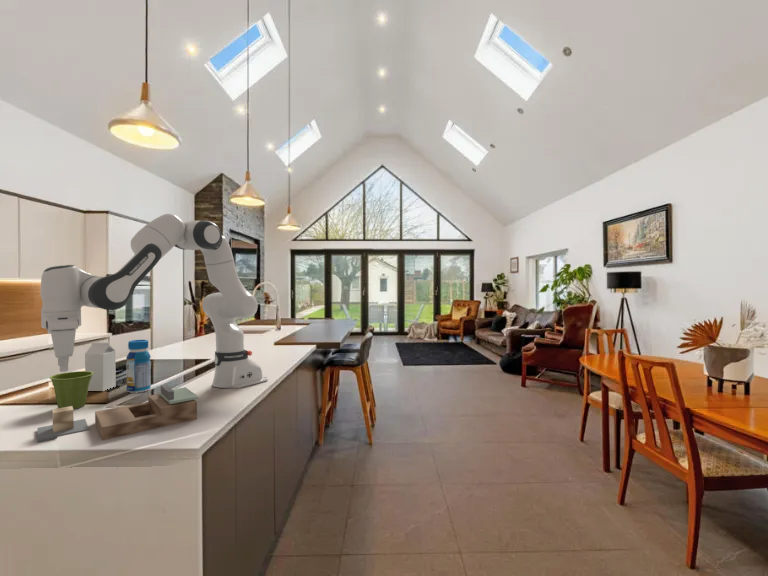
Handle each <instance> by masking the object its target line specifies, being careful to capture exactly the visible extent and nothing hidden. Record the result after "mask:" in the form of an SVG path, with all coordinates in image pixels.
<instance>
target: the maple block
mask: <svg viewBox="0 0 768 576" xmlns="http://www.w3.org/2000/svg"><path fill="white" fill-rule="evenodd" d="M51 417H52V425H53V433H54V432H59V431H64V430H69V429H74V421H75V420H74V409H73V407H72V406H69V407H63V408H58V407H57V408H53V409H52V415H51Z"/></svg>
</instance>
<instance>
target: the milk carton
mask: <svg viewBox="0 0 768 576" xmlns="http://www.w3.org/2000/svg"><path fill="white" fill-rule="evenodd" d="M116 359H117V358H116V350H115V349H114V348H113V347H112V346H111V345H110V342H91V345H90V347H89V348H88V349H87V350H86V352H85V353H84V371H90V372H93V373H94V374H93V375H92V376H91V381H90V382H89V387H88V391H103V392H105V390H106V391H108V390H111V389H113V387H114V388H116V386H117V385H116V384H117V380H116V379H117V378H116V376H117V374H116V369H117V368H116V367H117V364H116V363H117V362H116ZM110 388H111V389H110ZM107 389H108V390H107Z"/></svg>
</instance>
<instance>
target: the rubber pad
mask: <svg viewBox="0 0 768 576" xmlns="http://www.w3.org/2000/svg"><path fill="white" fill-rule="evenodd" d="M89 430H90V428H89V426H88V422H87V420H86V418H82V419H77V420H74V429H69V430H64V431H59V432H54V433H53V424H51V425H46V426H41V427H40V426H39V427H37V443H40V442H46V441H50V440H49V439H51V440H55V439H54V438H56V439H58V437H63V436H66V435H67V436H68V435H73V434H77V433H81V432H86V431H89ZM45 440H46V441H45Z"/></svg>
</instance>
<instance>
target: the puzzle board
mask: <svg viewBox="0 0 768 576" xmlns="http://www.w3.org/2000/svg"><path fill="white" fill-rule="evenodd" d="M147 400H148V401H146V402H140V403H134V404H131V405H124V406H123V405H122V406H119V407H118V406H117V407H113V408H108V409H107V408H106V409H100V410H96V411H95V412H94V421H95V422H94V424H95V426H96V428H97V431H98V433H99V436H100V438H101V440H102V441H106V440H109V439H114V438H119V437H123V436H124V437H125V436H127V435H133V434H137V433H141V432H145V431H150V430H154V429H158V428H165V427H167V426H172V425H177V424H182V423H185V422H191V421H194V420H198V407H197V406H198V402H197V399H195V400H190V401H185V402H179V403H174V404H169V403H168V402H167V401H166V400H165V399H164V398H163V397H162V396H161V395H160V394H159V393H156V394H152V395H148V396H147Z"/></svg>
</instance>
